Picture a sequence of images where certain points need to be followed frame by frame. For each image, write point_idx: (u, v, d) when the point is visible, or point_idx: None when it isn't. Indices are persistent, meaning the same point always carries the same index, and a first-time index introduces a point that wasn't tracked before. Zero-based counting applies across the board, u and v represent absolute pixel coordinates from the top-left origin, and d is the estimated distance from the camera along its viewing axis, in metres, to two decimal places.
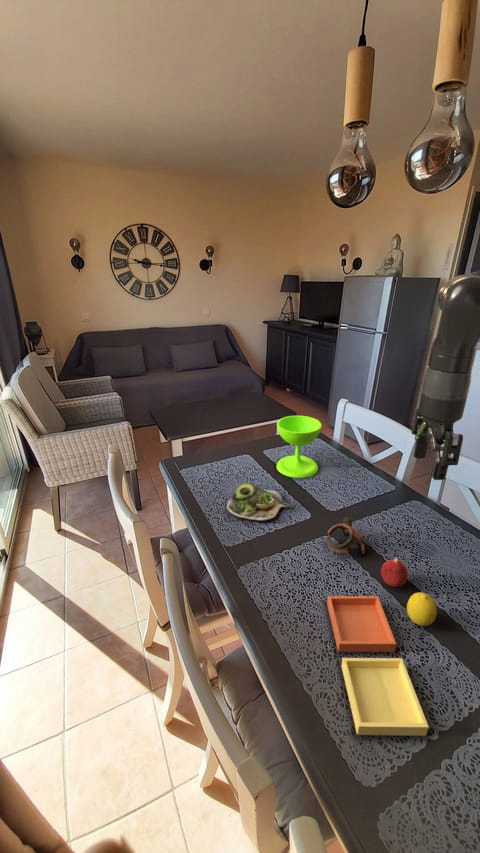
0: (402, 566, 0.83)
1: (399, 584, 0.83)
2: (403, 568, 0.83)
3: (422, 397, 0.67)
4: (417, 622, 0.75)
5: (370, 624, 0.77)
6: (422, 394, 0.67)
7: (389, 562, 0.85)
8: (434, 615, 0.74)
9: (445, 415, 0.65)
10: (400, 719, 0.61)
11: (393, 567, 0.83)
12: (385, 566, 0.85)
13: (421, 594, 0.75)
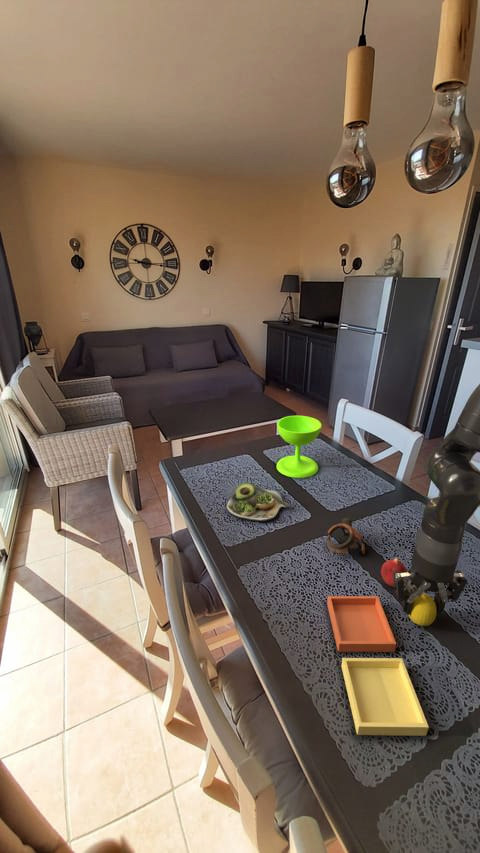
0: (402, 566, 0.83)
1: None
2: (403, 568, 0.83)
3: None
4: (417, 622, 0.75)
5: (370, 624, 0.77)
6: None
7: (389, 562, 0.85)
8: (434, 615, 0.74)
9: (412, 558, 0.72)
10: (400, 719, 0.61)
11: (393, 567, 0.83)
12: (385, 566, 0.85)
13: None
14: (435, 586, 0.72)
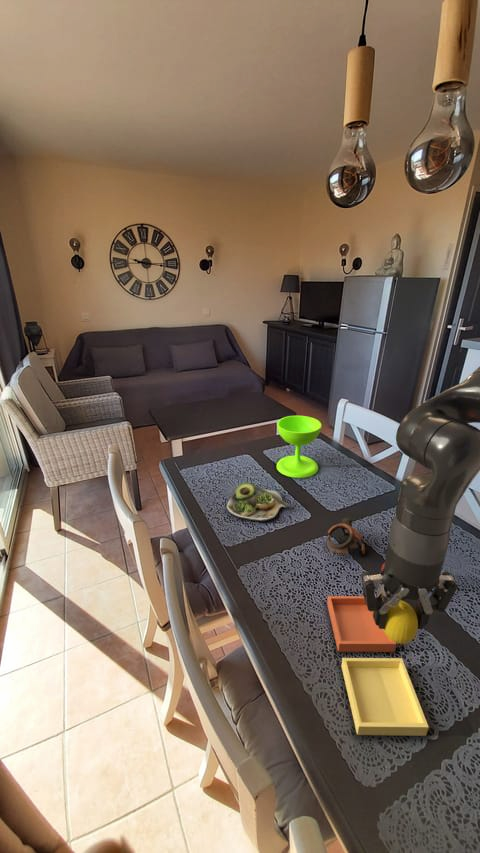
0: None
1: None
2: None
3: None
4: (393, 639, 0.58)
5: (370, 624, 0.77)
6: None
7: None
8: (414, 630, 0.56)
9: (386, 556, 0.54)
10: (400, 719, 0.61)
11: None
12: None
13: (398, 602, 0.58)
14: (415, 592, 0.55)
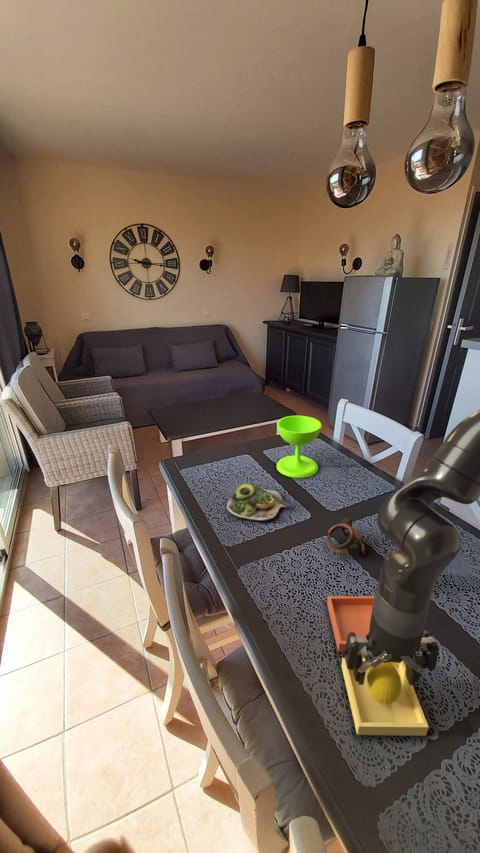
0: None
1: None
2: None
3: None
4: (377, 700, 0.61)
5: None
6: None
7: None
8: (397, 692, 0.60)
9: (370, 623, 0.58)
10: (400, 719, 0.61)
11: None
12: None
13: (383, 665, 0.62)
14: (400, 657, 0.58)
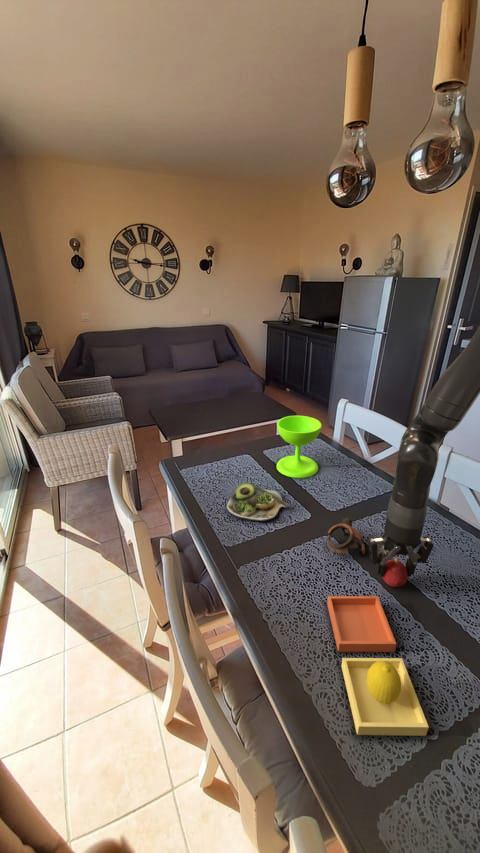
0: (402, 566, 0.83)
1: (399, 584, 0.83)
2: (403, 568, 0.83)
3: None
4: (377, 699, 0.61)
5: (370, 624, 0.77)
6: None
7: (389, 562, 0.85)
8: (397, 692, 0.60)
9: (385, 525, 0.81)
10: (400, 719, 0.61)
11: (393, 567, 0.83)
12: (385, 566, 0.85)
13: (383, 665, 0.62)
14: (405, 550, 0.81)
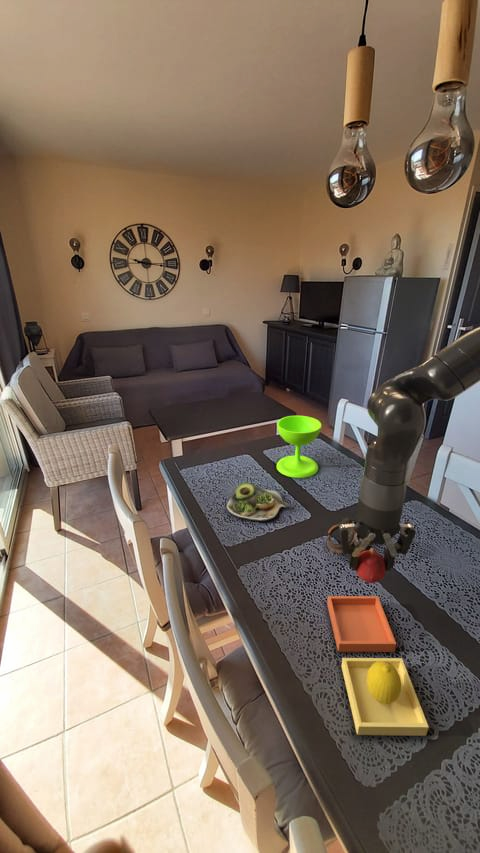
0: (378, 558, 0.69)
1: (375, 579, 0.69)
2: (380, 560, 0.69)
3: None
4: (377, 700, 0.61)
5: (370, 624, 0.77)
6: None
7: (364, 553, 0.71)
8: (397, 692, 0.60)
9: (357, 508, 0.67)
10: (400, 719, 0.61)
11: (367, 559, 0.69)
12: (359, 558, 0.71)
13: (383, 665, 0.62)
14: (382, 538, 0.67)
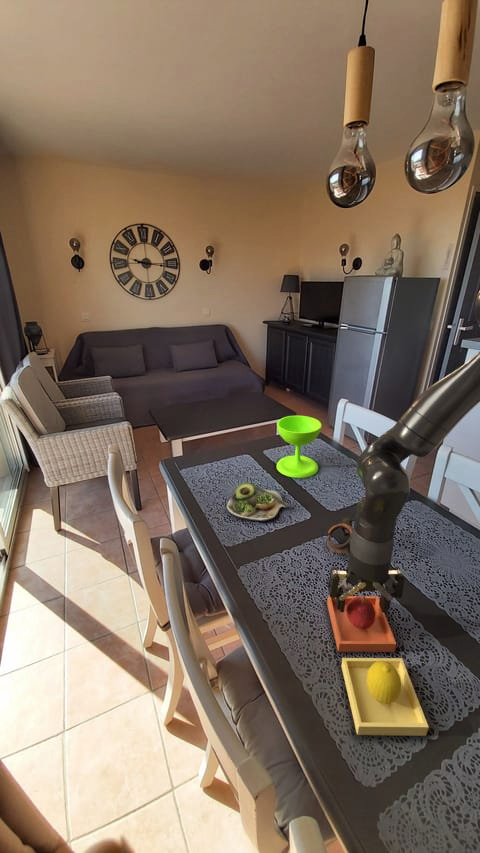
0: (368, 606, 0.73)
1: (365, 626, 0.73)
2: (370, 608, 0.73)
3: None
4: (377, 700, 0.61)
5: None
6: None
7: (355, 600, 0.75)
8: (397, 692, 0.60)
9: None
10: (400, 719, 0.61)
11: (358, 607, 0.73)
12: (350, 605, 0.75)
13: (383, 665, 0.62)
14: (373, 586, 0.71)
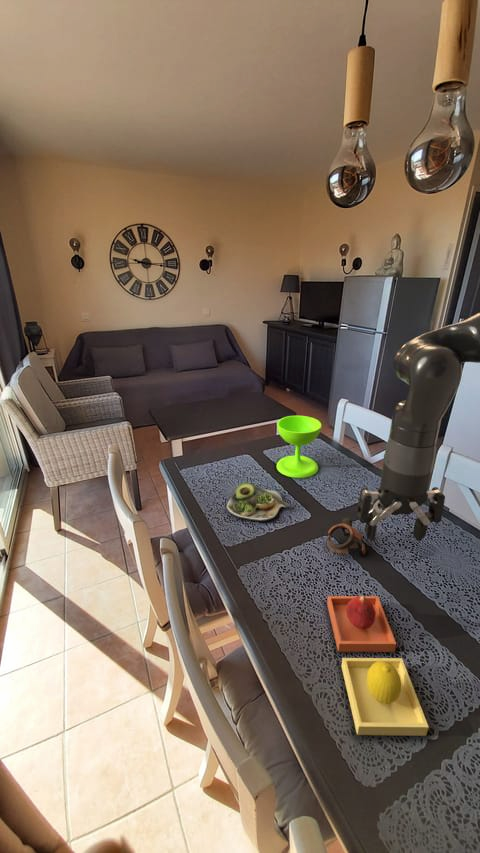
0: (368, 606, 0.73)
1: (365, 626, 0.73)
2: (370, 608, 0.73)
3: None
4: (377, 699, 0.61)
5: None
6: None
7: (355, 600, 0.75)
8: (397, 692, 0.60)
9: (381, 476, 0.63)
10: (400, 719, 0.61)
11: (358, 607, 0.73)
12: (350, 605, 0.75)
13: (383, 665, 0.62)
14: (409, 508, 0.63)
